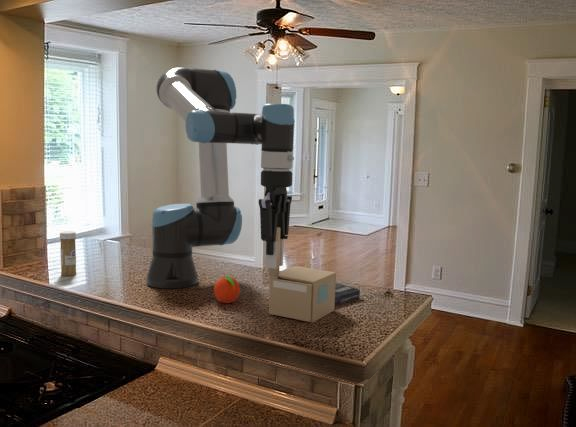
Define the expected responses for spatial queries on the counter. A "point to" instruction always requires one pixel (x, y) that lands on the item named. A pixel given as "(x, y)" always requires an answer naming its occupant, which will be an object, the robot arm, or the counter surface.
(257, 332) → the counter surface
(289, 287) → the tan tapered piece
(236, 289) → the clementine
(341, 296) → the box
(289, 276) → the carton
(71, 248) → the sprinkles bottle
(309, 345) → the counter surface
